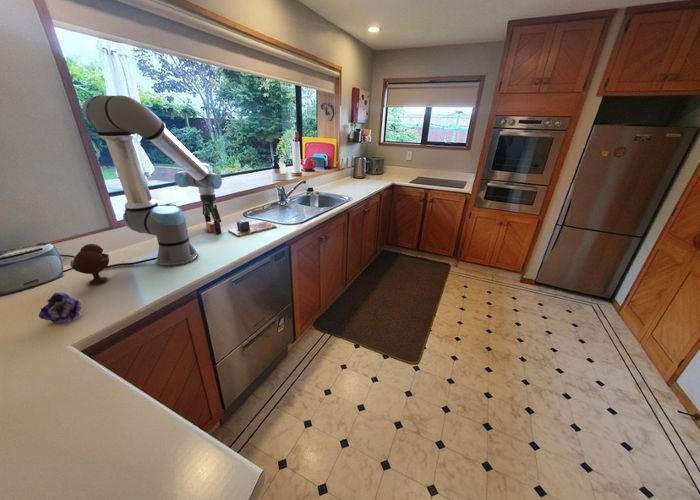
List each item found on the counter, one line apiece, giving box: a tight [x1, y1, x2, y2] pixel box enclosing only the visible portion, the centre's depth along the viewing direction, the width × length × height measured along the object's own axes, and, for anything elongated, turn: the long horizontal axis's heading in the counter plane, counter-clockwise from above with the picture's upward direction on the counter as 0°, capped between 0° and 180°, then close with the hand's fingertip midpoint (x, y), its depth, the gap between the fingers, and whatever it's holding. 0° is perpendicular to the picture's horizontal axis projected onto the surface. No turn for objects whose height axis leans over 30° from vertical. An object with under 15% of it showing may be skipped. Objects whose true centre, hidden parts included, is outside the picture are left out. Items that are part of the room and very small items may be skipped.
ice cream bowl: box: [69, 243, 110, 287], centre depth 103 cm, size 11×11×15 cm
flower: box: [38, 292, 82, 324], centre depth 86 cm, size 9×9×10 cm
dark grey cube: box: [236, 219, 250, 232], centre depth 159 cm, size 5×5×5 cm
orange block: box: [205, 220, 216, 234], centre depth 159 cm, size 5×5×5 cm
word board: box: [228, 220, 277, 238], centre depth 164 cm, size 24×12×1 cm, turn 135°
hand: (213, 230), depth 161 cm, fingers open, 13 cm apart
